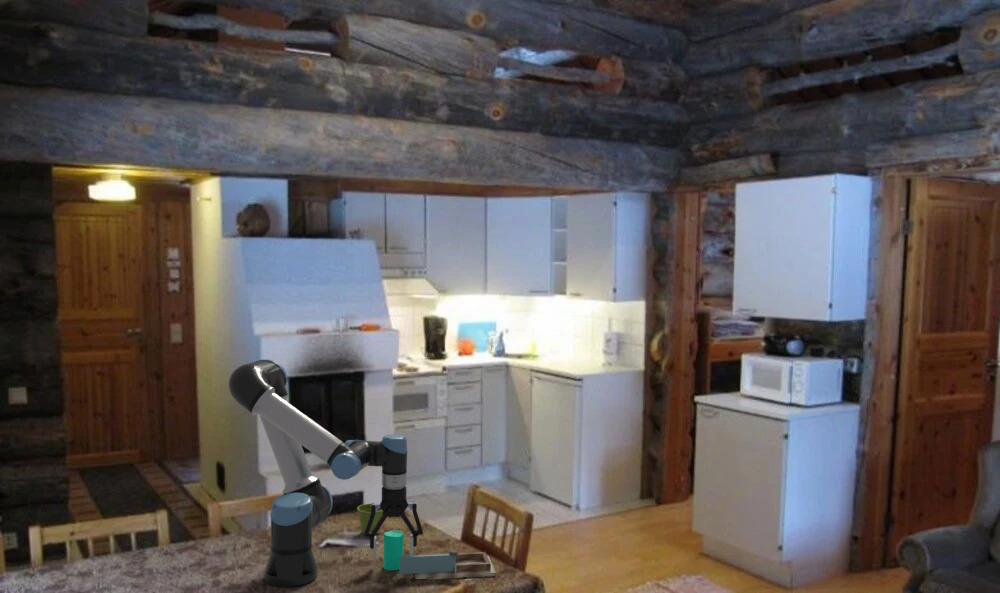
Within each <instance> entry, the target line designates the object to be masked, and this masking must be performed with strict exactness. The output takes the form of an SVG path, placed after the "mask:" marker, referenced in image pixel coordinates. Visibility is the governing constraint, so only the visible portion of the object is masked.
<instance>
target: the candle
mask: <svg viewBox="0 0 1000 593" xmlns="http://www.w3.org/2000/svg"><path fill="white" fill-rule="evenodd" d="M382 554H383V561H382V564H383V565H382V566H383V567H382V568H383V569H384V570H385V569H386V570H385V571H389V570H396V571H399V570H398V569H399V557H400V556H404V533H403V531H402V530H398V529H397V530H395V528H393V529H392V530H389V531H386V532H384V533H383V553H382Z"/></svg>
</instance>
